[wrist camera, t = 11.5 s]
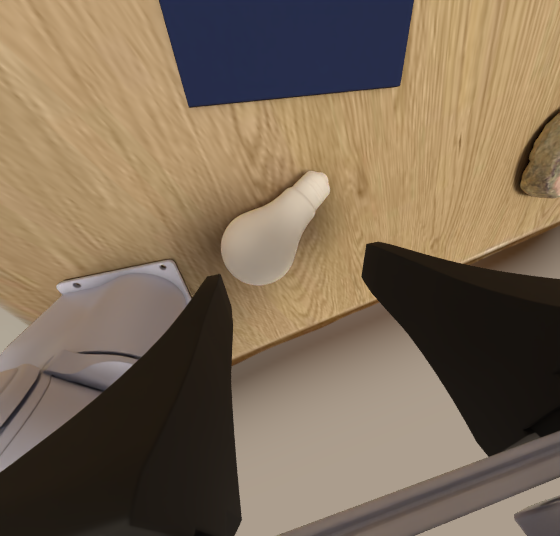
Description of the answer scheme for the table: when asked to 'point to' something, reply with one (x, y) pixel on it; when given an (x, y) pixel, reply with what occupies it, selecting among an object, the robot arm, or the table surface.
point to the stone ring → (544, 163)
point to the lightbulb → (272, 232)
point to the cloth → (285, 47)
